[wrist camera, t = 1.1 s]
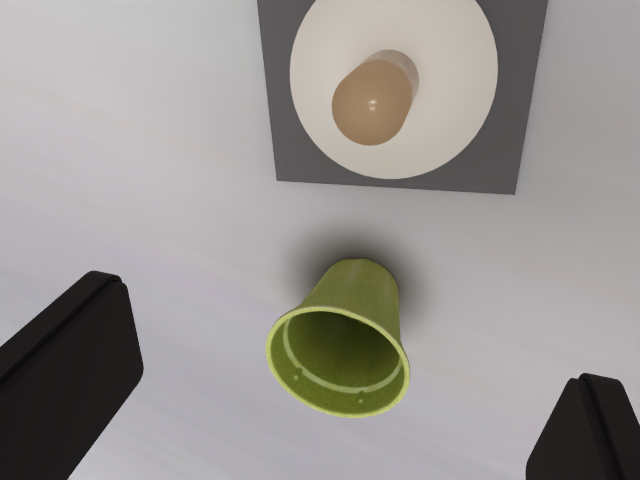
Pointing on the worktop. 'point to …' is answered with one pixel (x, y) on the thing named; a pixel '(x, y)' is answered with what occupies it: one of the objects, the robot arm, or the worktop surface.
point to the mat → (458, 173)
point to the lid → (393, 81)
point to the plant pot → (343, 343)
